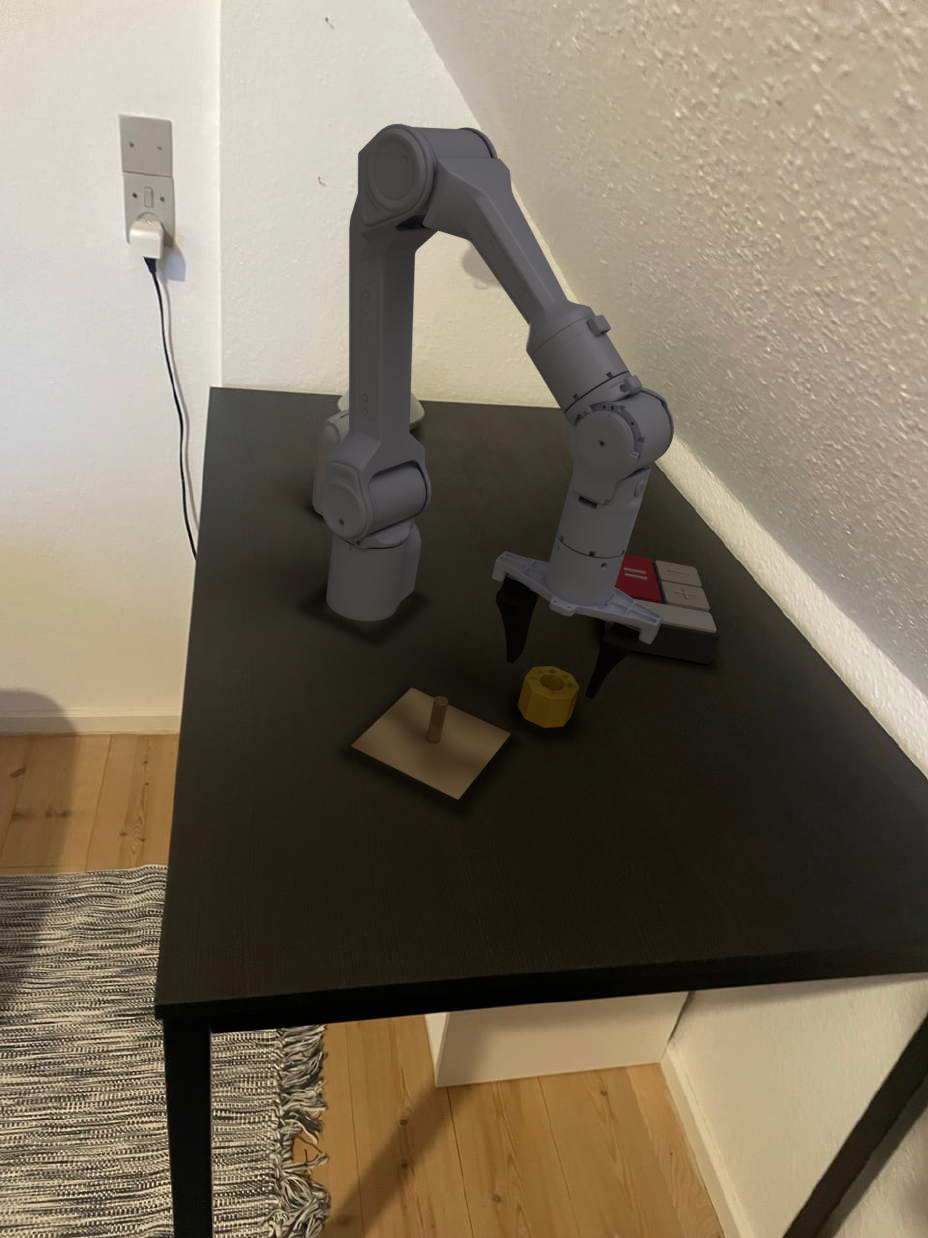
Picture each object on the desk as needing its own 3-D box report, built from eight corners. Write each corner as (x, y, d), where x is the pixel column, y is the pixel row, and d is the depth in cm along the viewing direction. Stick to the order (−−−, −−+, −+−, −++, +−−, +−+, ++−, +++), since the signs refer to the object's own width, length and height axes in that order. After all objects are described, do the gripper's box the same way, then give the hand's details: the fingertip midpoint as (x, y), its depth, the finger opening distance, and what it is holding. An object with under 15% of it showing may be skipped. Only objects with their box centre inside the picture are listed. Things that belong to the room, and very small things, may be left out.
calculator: (700, 564, 108) (723, 630, 95) (688, 596, 110) (710, 665, 97) (606, 546, 108) (617, 610, 95) (597, 579, 110) (606, 646, 97)
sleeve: (529, 694, 88) (539, 659, 86) (574, 714, 87) (585, 680, 84) (509, 719, 84) (518, 683, 82) (556, 740, 83) (566, 705, 81)
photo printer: (369, 488, 118) (381, 394, 111) (393, 502, 116) (407, 407, 109) (305, 507, 111) (314, 408, 104) (330, 523, 109) (340, 422, 102)
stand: (410, 694, 85) (418, 649, 82) (509, 740, 82) (521, 695, 79) (349, 753, 77) (356, 705, 74) (456, 806, 74) (467, 759, 71)
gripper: (490, 525, 75) (460, 662, 82) (662, 594, 70) (614, 732, 78) (525, 497, 80) (494, 627, 88) (687, 559, 76) (640, 691, 83)
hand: (552, 674), depth 83 cm, fingers open, 7 cm apart
